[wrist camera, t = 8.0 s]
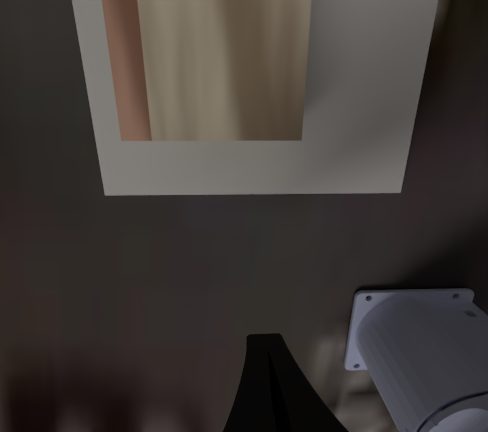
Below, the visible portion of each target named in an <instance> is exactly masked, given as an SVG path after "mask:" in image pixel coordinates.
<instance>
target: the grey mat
mask: <svg viewBox="0 0 488 432" xmlns="http://www.w3.org/2000/svg"><path fill="white" fill-rule="evenodd" d="M72 3H73V9H74V15H75V21H76V27H77V33H78V38H79V44H80V50H81V56H82V62H83V68H84V74H85V80H86V86H87V92H88V98H89V104H90V110H91V115H92V121H93V127H94V133H95V139H96V145H97V151H98V157H99V163H100V169H101V175H102V181H103V187H104V192H105V195H206V194H324V193H401V188H402V183H403V178H404V173H405V168H406V163H407V157H408V152H409V147H410V142H411V137H412V132H413V127H414V122H415V117H416V112H417V106H418V101H419V96H420V91H421V86H422V81H423V76H424V71H425V66H426V60H427V55H428V50H429V45H430V40H431V35H432V30H433V25H434V20H435V14H436V9H437V4H438V0H311V13H310V28H309V42H308V56H307V71H306V85H305V100H304V114H303V128H302V141H121V135H120V128H119V121H118V114H117V107H116V99H115V92H114V85H113V78H112V71H111V63H110V56H109V49H108V42H107V35H106V28H105V20H104V13H103V6H102V0H72Z"/></svg>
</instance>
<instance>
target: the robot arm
mask: <svg viewBox="0 0 488 432" xmlns="http://www.w3.org/2000/svg"><path fill="white" fill-rule="evenodd" d="M369 295H370V296H369ZM453 295H454V296H453ZM367 296H369V297H368V298H366V297H367ZM473 297H474V292H473V291H472V290H470V289H468V288H456V289H408V290H361V291H358V292H357V293H356V294H355V296H354V303H353V309H352V315H351V321H350V328H349V334H348V340H347V346H346V353H345V359H344V366H345V368H346V369H347V370H368V371H369V373H370V375H371V377H372V379H373V381H374V383H375V385H376V387H377V389H378V391H379V393H380V395H381V397H382V399H383V401H384V403H385V405H386V407H387V409H388V411H389V413H390V415H391V417H392V419H393V421H394V422H395V424H396V426H397V428H398V430H399V432H488V315H487V314H486V313H484V312H483V311H482V310H481V309H480V308H478V307H477V306H476V305H475V304H474V303H472V300H473ZM355 364H356V365H355ZM223 432H348V431H347V429H346V428H345V427H344V426H343V425H342V424H341V423H340V422H339V420H338V419H337V418H336V417H335V416H334V414H333V413H332V412H331V411H330V410H329V408H328V407H327V406H326V405H325V403H324V402H323V401H322V399H321V398H320V397H319V395H318V394H317V393H316V391H315V390H314V389H313V387H312V386H311V384H310V383H309V382H308V380H307V379H306V377H305V375H304V374H303V372H302V371H301V369H300V368H299V366H298V365H297V363H296V361H295V360H294V358H293V356H292V355H291V353H290V351H289V349H288V347H287V346H286V344H285V342H284V340H283V337H282V335H280V334H279V333H278V334H251V335H248V336H247V351H246V358H245V363H244V368H243V372H242V377H241V381H240V384H239V388H238V391H237V394H236V397H235V401H234V404H233V407H232V410H231V412H230V415H229V418H228V420H227V423H226V426H225V428H224V430H223Z"/></svg>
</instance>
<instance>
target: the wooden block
mask: <svg viewBox="0 0 488 432" xmlns="http://www.w3.org/2000/svg"><path fill="white" fill-rule="evenodd" d="M102 6H103V13H104V20H105V28H106V35H107V42H108V49H109V56H110V63H111V71H112V78H113V85H114V92H115V99H116V107H117V114H118V121H119V128H120V135H121V141H302V128H303V114H304V100H305V85H306V71H307V56H308V42H309V28H310V13H311V0H102Z"/></svg>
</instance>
